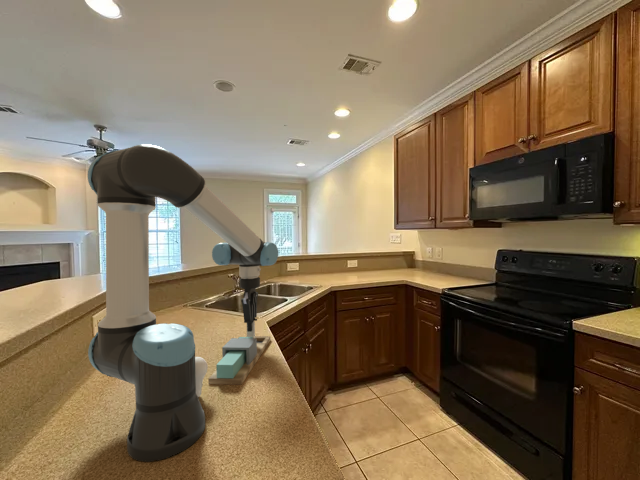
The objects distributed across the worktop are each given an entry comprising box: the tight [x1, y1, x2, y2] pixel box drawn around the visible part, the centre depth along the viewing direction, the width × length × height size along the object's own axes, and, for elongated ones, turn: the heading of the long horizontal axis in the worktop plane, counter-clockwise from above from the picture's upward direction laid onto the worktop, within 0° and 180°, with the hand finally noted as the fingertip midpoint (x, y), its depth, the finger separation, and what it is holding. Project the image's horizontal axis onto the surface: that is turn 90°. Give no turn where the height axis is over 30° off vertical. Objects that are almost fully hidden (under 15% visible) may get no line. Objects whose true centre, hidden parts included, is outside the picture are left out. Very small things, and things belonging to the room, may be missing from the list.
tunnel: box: [221, 337, 257, 365], centre depth 96 cm, size 8×9×6 cm
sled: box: [215, 336, 253, 378], centre depth 93 cm, size 19×5×5 cm, turn 176°
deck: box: [208, 335, 272, 386], centre depth 100 cm, size 34×10×2 cm, turn 176°
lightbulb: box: [195, 356, 209, 398], centre depth 77 cm, size 6×6×11 cm
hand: (251, 338), depth 108 cm, fingers closed
